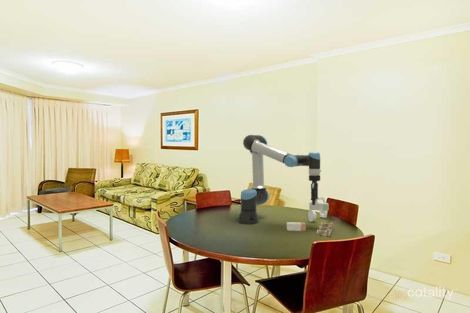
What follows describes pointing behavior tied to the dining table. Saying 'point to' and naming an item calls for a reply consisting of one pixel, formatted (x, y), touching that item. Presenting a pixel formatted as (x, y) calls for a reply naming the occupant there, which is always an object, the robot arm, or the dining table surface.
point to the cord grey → (320, 206)
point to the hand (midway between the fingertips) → (314, 208)
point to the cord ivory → (296, 226)
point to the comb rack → (325, 229)
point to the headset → (313, 215)
